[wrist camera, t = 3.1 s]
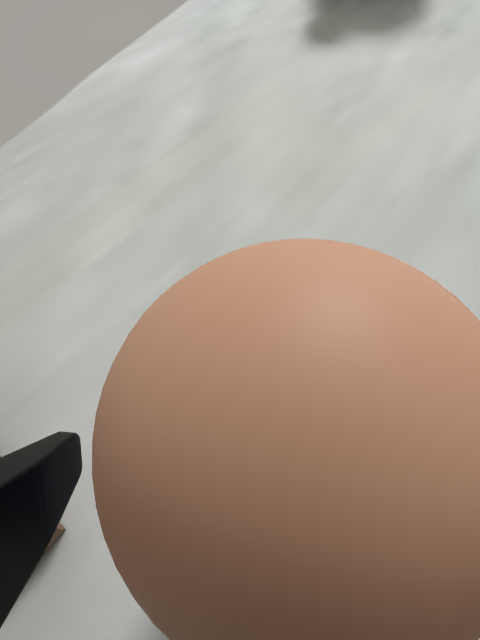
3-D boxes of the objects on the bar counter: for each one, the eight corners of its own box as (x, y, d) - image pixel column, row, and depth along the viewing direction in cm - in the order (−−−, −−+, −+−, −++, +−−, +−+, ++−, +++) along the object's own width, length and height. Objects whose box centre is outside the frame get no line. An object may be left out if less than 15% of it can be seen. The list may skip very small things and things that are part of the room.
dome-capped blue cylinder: (361, 497, 16) (789, 317, 3) (283, 620, 14) (531, 1311, 1) (259, 416, 18) (269, 79, 5) (177, 517, 16) (-148, 412, 3)
